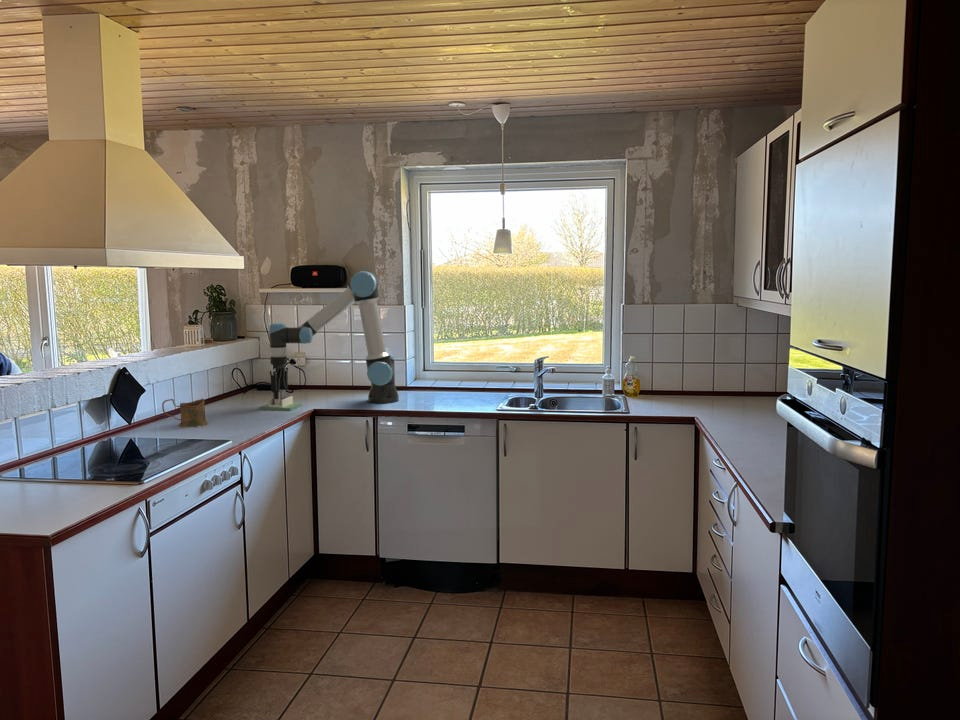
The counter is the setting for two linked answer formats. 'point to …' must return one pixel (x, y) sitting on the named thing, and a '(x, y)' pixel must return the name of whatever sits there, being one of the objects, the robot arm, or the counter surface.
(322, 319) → the robot arm
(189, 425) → the mug
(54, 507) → the counter surface
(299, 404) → the board
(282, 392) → the plug
